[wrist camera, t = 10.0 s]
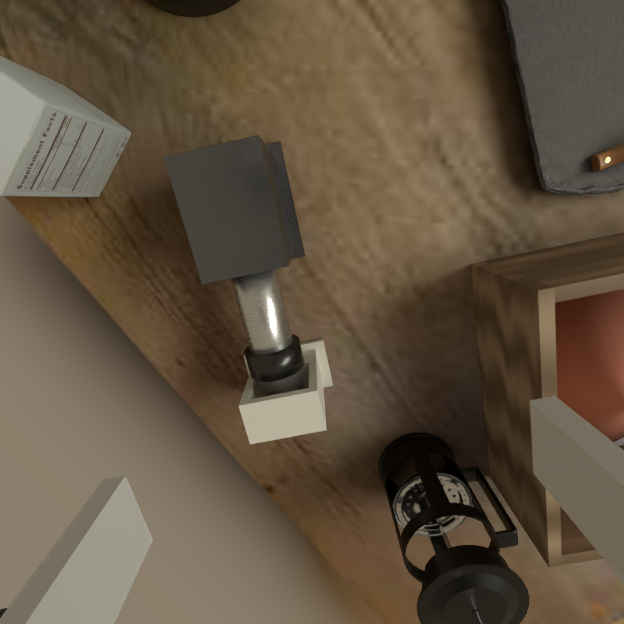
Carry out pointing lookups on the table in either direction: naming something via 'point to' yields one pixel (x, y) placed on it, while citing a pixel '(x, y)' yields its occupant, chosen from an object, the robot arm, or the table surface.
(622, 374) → the ceramic vessels
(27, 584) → the robot arm
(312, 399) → the socket
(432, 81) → the table surface
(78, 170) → the supplement box
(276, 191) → the dark grey block
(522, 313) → the box
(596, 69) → the serving board
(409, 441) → the french press
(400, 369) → the table surface
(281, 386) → the rod
